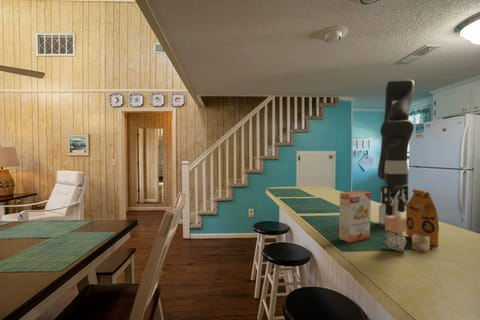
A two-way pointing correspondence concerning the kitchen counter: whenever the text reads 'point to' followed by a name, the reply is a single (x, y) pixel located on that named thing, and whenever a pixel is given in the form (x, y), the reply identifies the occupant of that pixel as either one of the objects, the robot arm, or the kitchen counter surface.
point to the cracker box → (354, 216)
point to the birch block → (421, 242)
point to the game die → (395, 241)
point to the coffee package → (422, 216)
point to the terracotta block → (395, 224)
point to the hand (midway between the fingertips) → (395, 213)
